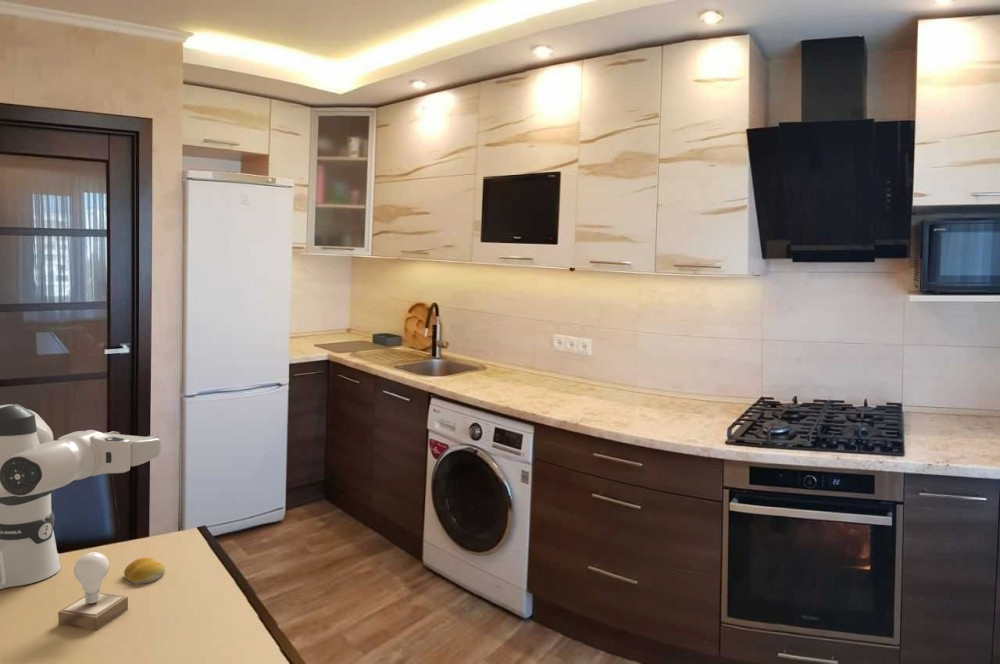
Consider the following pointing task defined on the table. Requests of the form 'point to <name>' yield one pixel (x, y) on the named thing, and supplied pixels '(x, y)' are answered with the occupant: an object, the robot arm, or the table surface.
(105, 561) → the lightbulb
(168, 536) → the table surface
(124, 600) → the picture frame
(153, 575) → the bread roll
